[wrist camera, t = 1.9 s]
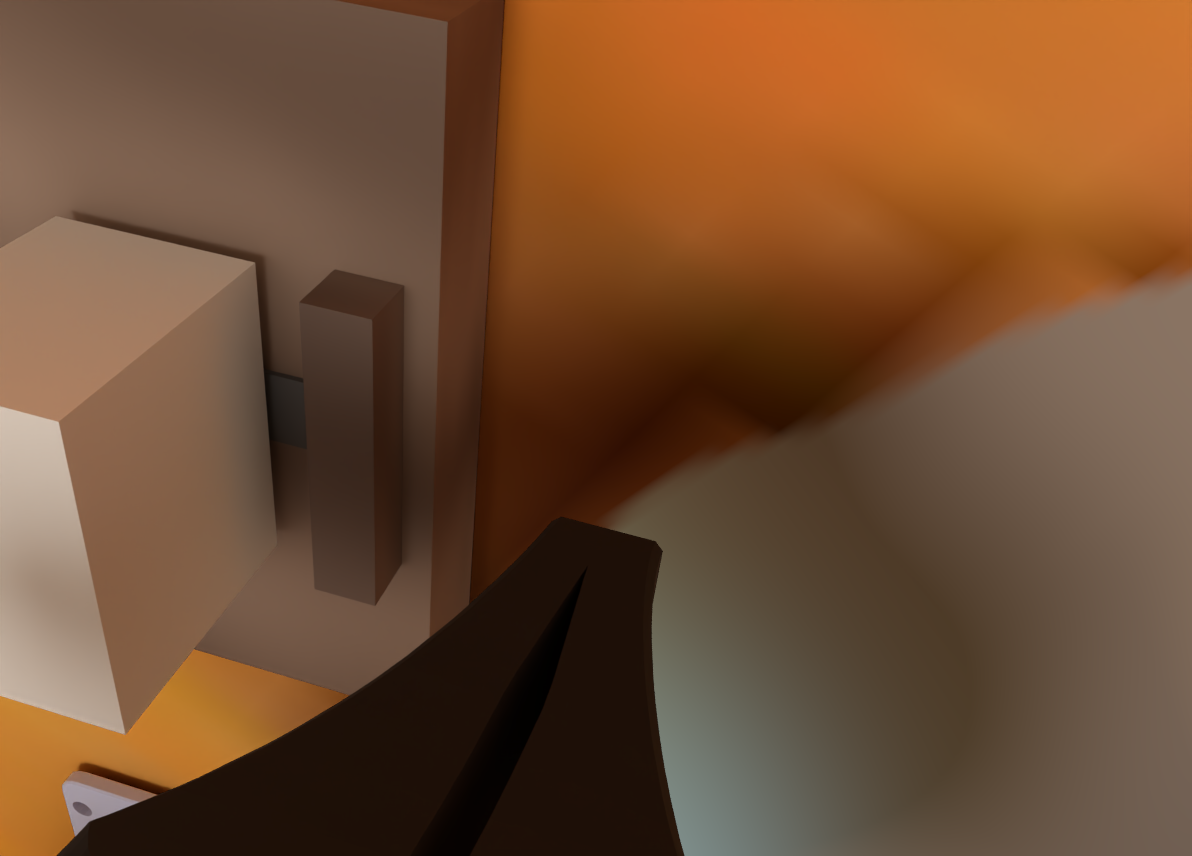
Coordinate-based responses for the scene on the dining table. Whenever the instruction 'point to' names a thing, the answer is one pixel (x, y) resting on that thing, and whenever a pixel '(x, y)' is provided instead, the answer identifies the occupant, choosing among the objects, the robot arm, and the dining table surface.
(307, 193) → the slotted base plate
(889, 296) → the dining table surface
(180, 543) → the fader tab
